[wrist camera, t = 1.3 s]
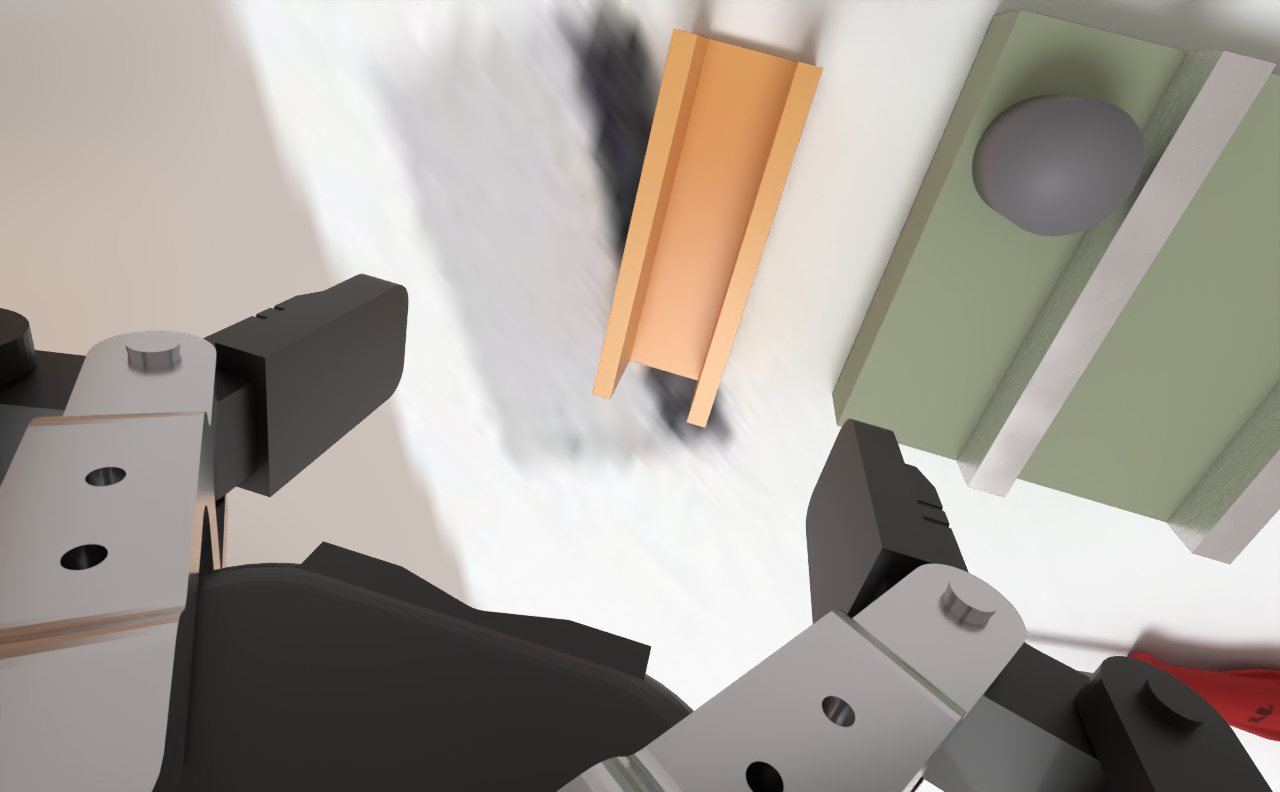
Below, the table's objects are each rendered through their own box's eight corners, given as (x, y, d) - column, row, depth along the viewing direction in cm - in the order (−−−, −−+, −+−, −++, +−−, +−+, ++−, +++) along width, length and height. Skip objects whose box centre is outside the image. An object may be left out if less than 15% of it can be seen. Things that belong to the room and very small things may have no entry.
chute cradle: (1186, 51, 21) (1224, 50, 19) (1531, 138, 20) (1603, 146, 18) (955, 460, 28) (967, 486, 27) (1201, 532, 28) (1230, 564, 26)
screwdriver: (873, 597, 36) (881, 648, 33) (1402, 669, 32) (1467, 734, 29) (862, 643, 38) (869, 695, 35) (1365, 717, 34) (1423, 783, 31)
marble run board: (994, 15, 24) (1055, 2, 18) (1452, 132, 23) (1654, 153, 18) (832, 394, 31) (843, 462, 26) (1170, 493, 30) (1252, 583, 25)
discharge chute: (691, 34, 26) (673, 28, 22) (815, 66, 26) (823, 67, 21) (617, 349, 33) (592, 393, 28) (715, 378, 32) (705, 427, 28)
